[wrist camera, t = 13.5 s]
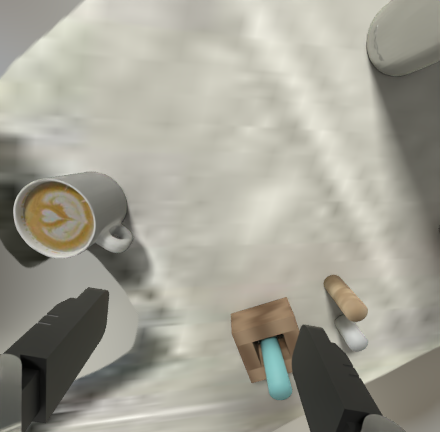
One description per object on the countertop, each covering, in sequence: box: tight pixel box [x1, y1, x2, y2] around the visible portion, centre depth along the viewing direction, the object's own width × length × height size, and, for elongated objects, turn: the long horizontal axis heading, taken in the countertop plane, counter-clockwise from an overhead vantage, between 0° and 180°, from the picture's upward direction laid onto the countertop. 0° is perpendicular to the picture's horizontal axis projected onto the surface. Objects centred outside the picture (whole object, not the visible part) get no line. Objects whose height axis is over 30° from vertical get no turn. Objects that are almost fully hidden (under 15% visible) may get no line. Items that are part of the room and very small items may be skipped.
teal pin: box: [260, 335, 292, 400], centre depth 39 cm, size 3×3×12 cm
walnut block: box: [231, 297, 300, 383], centre depth 43 cm, size 10×10×5 cm
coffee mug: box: [13, 172, 133, 258], centre depth 36 cm, size 13×10×10 cm
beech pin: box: [324, 275, 368, 322], centre depth 39 cm, size 3×3×8 cm
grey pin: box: [335, 315, 368, 351], centre depth 42 cm, size 3×3×5 cm
